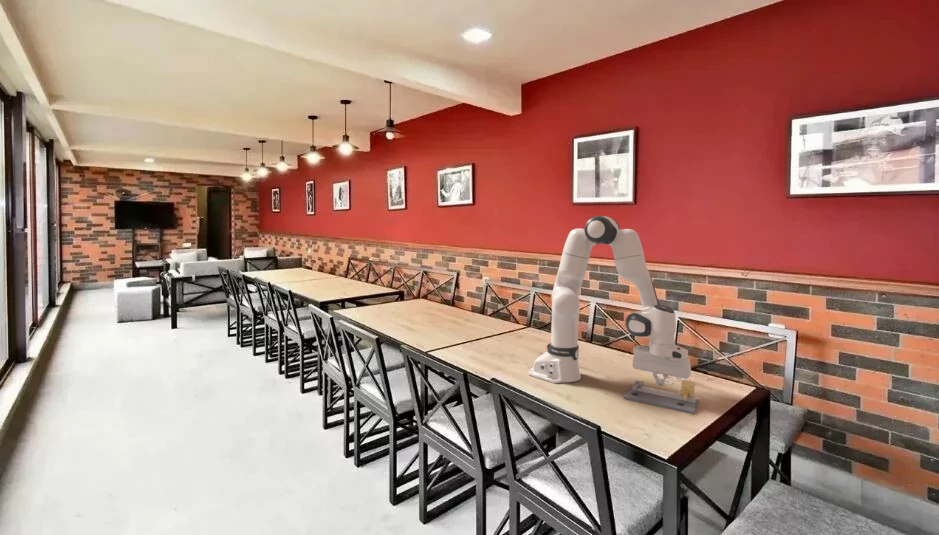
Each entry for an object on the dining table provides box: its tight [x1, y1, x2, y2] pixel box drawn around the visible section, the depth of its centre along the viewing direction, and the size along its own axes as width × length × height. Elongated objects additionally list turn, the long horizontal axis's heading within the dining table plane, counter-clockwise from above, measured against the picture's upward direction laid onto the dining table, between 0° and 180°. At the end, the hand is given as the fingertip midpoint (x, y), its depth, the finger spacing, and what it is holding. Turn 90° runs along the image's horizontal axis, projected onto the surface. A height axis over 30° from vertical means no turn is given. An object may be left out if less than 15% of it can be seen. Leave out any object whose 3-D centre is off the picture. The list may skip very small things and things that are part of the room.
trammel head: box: [680, 379, 696, 403], centre depth 163 cm, size 4×7×6 cm, turn 145°
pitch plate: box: [623, 380, 701, 415], centre depth 167 cm, size 24×12×4 cm, turn 55°
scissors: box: [641, 370, 691, 385], centre depth 193 cm, size 11×1×20 cm
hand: (660, 384), depth 170 cm, fingers closed
